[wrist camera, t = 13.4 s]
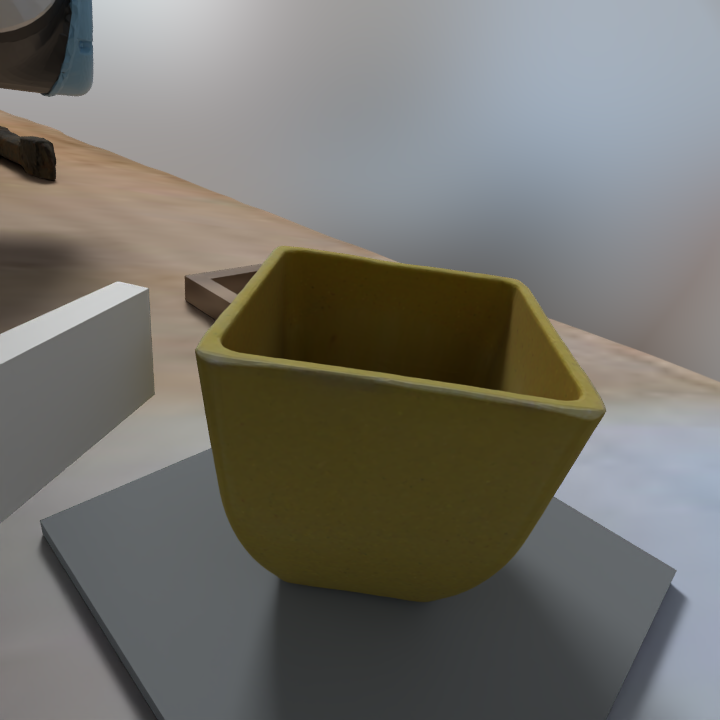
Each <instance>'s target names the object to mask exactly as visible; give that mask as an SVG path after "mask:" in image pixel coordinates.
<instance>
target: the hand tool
mask: <svg viewBox="0 0 720 720" xmlns="http://www.w3.org/2000/svg"><path fill="white" fill-rule="evenodd" d="M0 155H1V156H3V157H5V158H7V159H9V160H11V161H13V162H16V163H18V164H20V165H22V166H23V167H24V169H25V172H26V173H28V174H30V175H33V176H36V177H39V178H44V179H50V180H55V179H56V168H55V166H56V157H55V153H54V147H53V144H52V143H51V142H50V141H48V140H46V139H44V138H38V137H32V136H30V137H20V136H18V135H16V134H15V133H11V132H10V131H9V130H8V128H5V127H1V126H0Z"/></svg>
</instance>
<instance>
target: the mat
mask: <svg viewBox="0 0 720 720" xmlns="http://www.w3.org/2000/svg"><path fill="white" fill-rule="evenodd" d="M40 523H41V528H42V532H43V535H44V536H45V538H46V540H47V541H48V543H49V545H50V546H51V548H52V549H53V551H54V553H55V554H56V556H57V558H58V559H59V561H60V562H61V564H62V566H63V567H64V569H65V570H66V572H67V574H68V575H69V577H70V579H71V580H72V582H73V583H74V585H75V587H76V588H77V590H78V592H79V593H80V595H81V596H82V598H83V600H84V601H85V603H86V604H87V606H88V608H89V609H90V611H91V613H92V614H93V616H94V617H95V619H96V621H97V622H98V624H99V626H100V627H101V629H102V630H103V632H104V634H105V635H106V637H107V638H108V640H109V642H110V643H111V645H112V647H113V648H114V650H115V651H116V653H117V655H118V656H119V658H120V660H121V661H122V663H123V664H124V666H125V668H126V669H127V671H128V673H129V674H130V676H131V677H132V679H133V681H134V682H135V684H136V685H137V687H138V689H139V690H140V692H141V694H142V695H143V697H144V698H145V700H146V702H147V703H148V705H149V707H150V708H151V710H152V711H153V713H154V715H155V716H156V718H157V719H158V720H606V718H607V716H608V714H609V712H610V710H611V708H612V706H613V703H614V701H615V699H616V697H617V695H618V693H619V691H620V689H621V687H622V684H623V682H624V680H625V678H626V676H627V674H628V672H629V670H630V668H631V666H632V663H633V661H634V659H635V657H636V655H637V653H638V651H639V649H640V647H641V644H642V642H643V640H644V638H645V636H646V634H647V632H648V630H649V628H650V626H651V623H652V621H653V619H654V617H655V615H656V613H657V611H658V609H659V607H660V604H661V602H662V600H663V598H664V596H665V594H666V592H667V590H668V588H669V586H670V583H671V581H672V579H673V577H674V575H675V573H676V571H677V570H675V569H673V568H672V567H670V566H668V565H667V564H665V563H663V562H662V561H660V560H658V559H657V558H655V557H653V556H652V555H650V554H648V553H647V552H645V551H643V550H642V549H640V548H638V547H637V546H635V545H633V544H632V543H630V542H628V541H627V540H625V539H623V538H622V537H620V536H618V535H617V534H615V533H613V532H612V531H610V530H608V529H607V528H605V527H603V526H602V525H600V524H598V523H597V522H595V521H593V520H592V519H590V518H588V517H587V516H585V515H583V514H582V513H580V512H578V511H577V510H575V509H573V508H572V507H570V506H568V505H567V504H565V503H563V502H562V501H560V500H558V499H557V498H555V497H553V498H552V499H551V501H550V503H549V505H548V506H547V508H546V510H545V511H544V513H543V514H542V516H541V518H540V519H539V521H538V522H537V524H536V526H535V527H534V529H533V530H532V532H531V533H530V535H529V537H528V538H527V540H526V541H525V543H524V544H523V545H522V547H521V548H520V549H519V551H518V552H517V553H516V554H515V556H514V557H513V558H512V559H511V560H510V561H509V562H508V563H507V564H506V565H505V566H504V567H503V568H502V569H501V570H499V571H498V572H497V573H495V574H494V575H493V576H491V577H490V578H489V579H487V580H486V581H484V582H482V583H481V584H479V585H477V586H476V587H474V588H472V589H470V590H467V591H465V592H463V593H460V594H458V595H454V596H451V597H447V598H443V599H439V600H435V601H430V602H416V601H409V600H403V599H397V598H391V597H384V596H377V595H371V594H365V593H358V592H351V591H345V590H336V589H328V588H320V587H313V586H307V585H300V584H294V583H288V582H286V581H283V580H282V579H280V578H278V577H277V576H276V575H274V574H273V573H271V572H269V571H268V570H266V569H265V568H264V567H263V566H261V565H260V564H259V563H258V562H257V561H256V560H254V559H253V558H252V556H251V555H250V554H249V553H248V552H247V551H246V549H245V548H244V547H243V545H242V544H241V543H240V541H239V540H238V538H237V536H236V535H235V533H234V531H233V529H232V527H231V525H230V523H229V521H228V518H227V516H226V513H225V510H224V507H223V504H222V500H221V496H220V492H219V486H218V481H217V475H216V470H215V464H214V459H213V453H212V448H210V449H208V450H206V451H203V452H201V453H199V454H196V455H194V456H192V457H189V458H187V459H184V460H182V461H180V462H177V463H175V464H173V465H170V466H168V467H166V468H163V469H161V470H158V471H156V472H154V473H151V474H149V475H147V476H144V477H142V478H140V479H137V480H135V481H132V482H130V483H128V484H125V485H123V486H121V487H118V488H116V489H114V490H111V491H109V492H106V493H104V494H102V495H99V496H97V497H95V498H92V499H90V500H88V501H85V502H83V503H80V504H78V505H76V506H73V507H71V508H69V509H66V510H64V511H62V512H59V513H57V514H54V515H52V516H50V517H47V518H45V519H43V520H40Z"/></svg>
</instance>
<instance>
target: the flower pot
mask: <svg viewBox="0 0 720 720" xmlns="http://www.w3.org/2000/svg"><path fill="white" fill-rule="evenodd" d="M195 353H196V360H197V366H198V371H199V377H200V383H201V389H202V395H203V401H204V407H205V414H206V419H207V425H208V431H209V436H210V442H211V448H212V453H213V459H214V464H215V470H216V475H217V481H218V486H219V492H220V496H221V500H222V504H223V507H224V510H225V513H226V516H227V518H228V521H229V523H230V525H231V527H232V529H233V531H234V533H235V535H236V536H237V538H238V540H239V541H240V543H241V544H242V545H243V547H244V548H245V549H246V551H247V552H248V553H249V554H250V555H251V556H252V558H253V559H254V560H256V561H257V562H258V563H259V564H260V565H261V566H263V567H264V568H265V569H266V570H268V571H269V572H271V573H273V574H274V575H276V576H277V577H278V578H280V579H282V580H283V581H286V582H288V583H294V584H300V585H307V586H313V587H320V588H328V589H336V590H345V591H351V592H358V593H365V594H371V595H377V596H384V597H391V598H397V599H403V600H409V601H416V602H430V601H435V600H439V599H443V598H447V597H451V596H454V595H458V594H460V593H463V592H465V591H467V590H470V589H472V588H474V587H476V586H477V585H479V584H481V583H482V582H484V581H486V580H487V579H489V578H490V577H491V576H493V575H494V574H495V573H497V572H498V571H499V570H501V569H502V568H503V567H504V566H505V565H506V564H507V563H508V562H509V561H510V560H511V559H512V558H513V557H514V556H515V554H516V553H517V552H518V551H519V549H520V548H521V547H522V545H523V544H524V543H525V541H526V540H527V538H528V537H529V535H530V533H531V532H532V530H533V529H534V527H535V526H536V524H537V522H538V521H539V519H540V518H541V516H542V514H543V513H544V511H545V510H546V508H547V506H548V505H549V503H550V501H551V499H552V498H553V496H554V494H555V493H556V491H557V490H558V488H559V487H560V485H561V483H562V482H563V480H564V478H565V477H566V475H567V473H568V472H569V470H570V469H571V467H572V466H573V464H574V462H575V461H576V459H577V458H578V456H579V454H580V453H581V451H582V449H583V448H584V446H585V444H586V443H587V441H588V439H589V438H590V436H591V435H592V433H593V431H594V430H595V428H596V427H597V425H598V424H599V422H600V421H601V419H602V417H603V416H604V414H605V412H606V408H605V405H604V403H603V401H602V399H601V397H600V396H599V394H598V392H597V391H596V389H595V387H594V386H593V384H592V382H591V381H590V379H589V378H588V376H587V375H586V373H585V372H584V370H583V369H582V368H581V367H580V365H579V364H578V363H577V361H576V359H575V358H574V357H573V355H572V354H571V352H570V351H569V349H568V348H567V346H566V345H565V343H564V342H563V341H562V339H561V338H560V336H559V335H558V333H557V332H556V330H555V329H554V327H553V326H552V324H551V323H550V321H549V319H548V318H547V316H546V315H545V313H544V312H543V310H542V308H541V306H540V305H539V304H538V302H537V300H536V298H535V297H534V296H533V294H532V293H531V291H530V290H529V289H528V287H527V286H525V285H524V284H523V283H522V282H520V281H519V280H516V279H511V278H506V277H499V276H493V275H487V274H479V273H471V272H463V271H456V270H449V269H443V268H435V267H428V266H418V265H409V264H402V263H395V262H389V261H382V260H377V259H371V258H366V257H361V256H355V255H349V254H343V253H335V252H329V251H322V250H316V249H308V248H301V247H290V246H279V247H277V248H276V249H274V250H273V251H272V253H271V254H270V255H269V257H268V258H267V259H266V260H265V261H264V263H263V264H262V265H261V267H260V268H259V270H258V271H257V272H256V274H255V275H254V276H253V277H252V278H251V279H250V281H249V282H248V283H247V284H246V286H245V287H244V288H243V289H242V291H241V292H240V293H239V294H238V295H237V296H236V298H235V299H234V300H233V301H232V303H231V304H230V305H229V306H228V307H227V308H226V309H225V310H224V311H223V312H222V313H221V315H220V316H219V317H218V319H217V320H216V321H215V323H214V324H213V325H212V326H211V327H210V328H209V329H208V331H207V332H206V333H205V335H204V336H203V338H202V339H201V341H200V343H199V344H198V346H197V348H196V349H195Z"/></svg>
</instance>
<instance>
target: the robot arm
mask: <svg viewBox="0 0 720 720" xmlns="http://www.w3.org/2000/svg"><path fill="white" fill-rule="evenodd" d="M92 33H93V22H92V0H0V88H4V89H12V90H20V91H28V92H36V93H41V94H42V95H44V96H49V97H50V96H55V95H67V96H81V95H84V94H86V93H87V92H88V91H89V90H90V88H91V86H92V82H93V45H92V41H93V36H92ZM154 394H155V392H154V374H153V356H152V338H151V320H150V302H149V288H145V287H141V286H136V285H132V284H127V283H123V282H119V281H117V282H115V283H113V284H110V285H108V286H106V287H104V288H101V289H99V290H97V291H95V292H93V293H90V294H88V295H86V296H84V297H81V298H79V299H77V300H75V301H73V302H70V303H68V304H66V305H64V306H61V307H59V308H57V309H55V310H53V311H50V312H48V313H46V314H44V315H41V316H39V317H37V318H35V319H33V320H30V321H28V322H26V323H24V324H21V325H19V326H17V327H15V328H13V329H10V330H8V331H6V332H4V333H2V334H0V523H1V522H2V521H4V520H5V519H6V518H7V517H8V516H10V515H11V514H12V513H13V512H14V511H16V510H17V509H18V508H19V507H20V506H22V505H23V504H24V503H25V502H26V501H28V500H29V499H30V498H31V497H32V496H34V495H35V494H36V493H37V492H38V491H40V490H41V489H42V488H43V487H44V486H46V485H47V484H48V483H49V482H50V481H52V480H53V479H54V478H55V477H56V476H58V475H59V474H60V473H61V472H62V471H64V470H65V469H66V468H67V467H68V466H69V465H71V464H72V463H73V462H74V461H75V460H77V459H78V458H79V457H80V456H81V455H83V454H84V453H85V452H86V451H87V450H89V449H90V448H91V447H92V446H93V445H95V444H96V443H97V442H98V441H99V440H101V439H102V438H103V437H104V436H105V435H107V434H108V433H109V432H110V431H111V430H113V429H114V428H115V427H116V426H117V425H119V424H120V423H121V422H122V421H123V420H125V419H126V418H127V417H128V416H129V415H131V414H132V413H133V412H134V411H135V410H137V409H138V408H139V407H140V406H141V405H143V404H144V403H145V402H146V401H147V400H149V399H150V398H151V397H152V396H153V395H154Z"/></svg>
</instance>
